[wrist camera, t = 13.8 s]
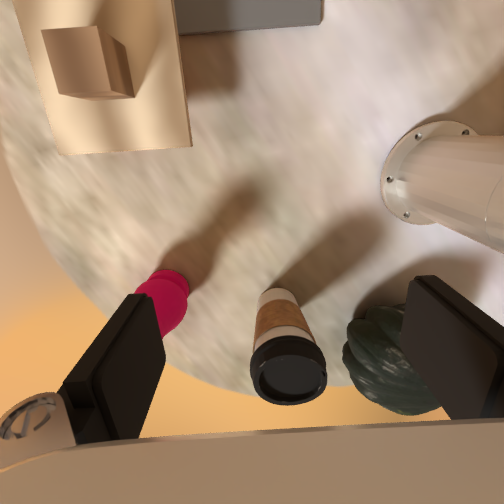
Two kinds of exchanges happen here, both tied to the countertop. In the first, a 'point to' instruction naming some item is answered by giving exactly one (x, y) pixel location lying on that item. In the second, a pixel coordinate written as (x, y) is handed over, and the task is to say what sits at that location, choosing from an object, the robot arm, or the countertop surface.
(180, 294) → the pepper mill
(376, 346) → the squash
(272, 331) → the coffee cup
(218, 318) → the countertop surface
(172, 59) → the lid
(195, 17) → the tray
